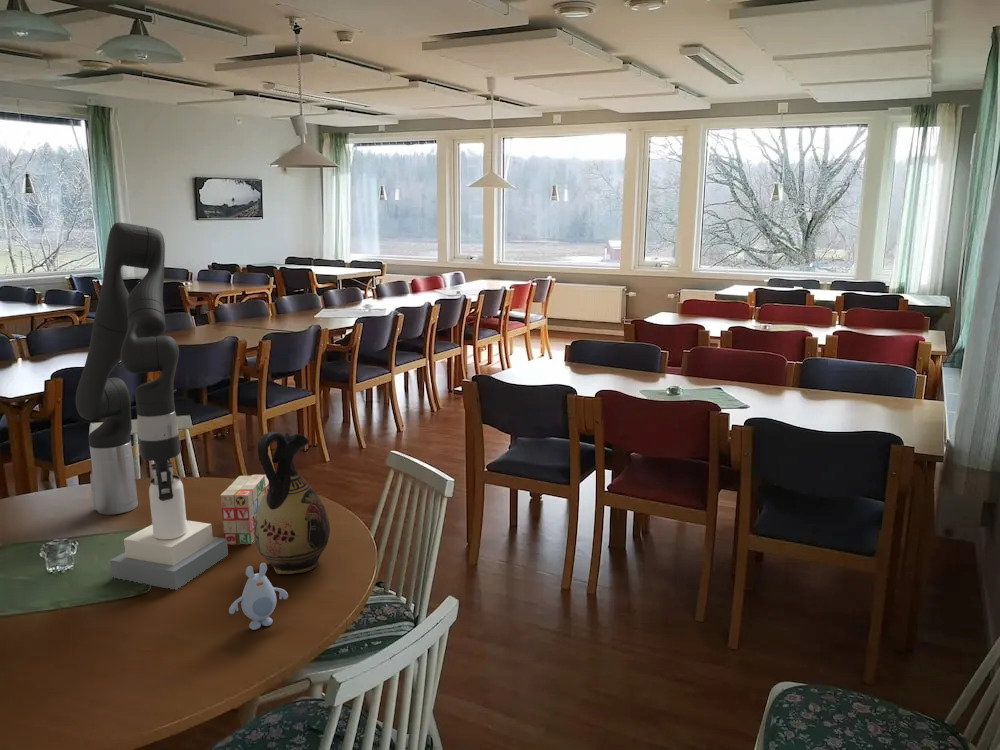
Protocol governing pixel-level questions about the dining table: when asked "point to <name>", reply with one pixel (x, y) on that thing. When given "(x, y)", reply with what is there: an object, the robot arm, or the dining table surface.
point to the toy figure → (258, 598)
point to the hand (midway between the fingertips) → (166, 509)
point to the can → (168, 511)
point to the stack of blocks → (242, 507)
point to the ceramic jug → (289, 510)
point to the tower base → (169, 571)
